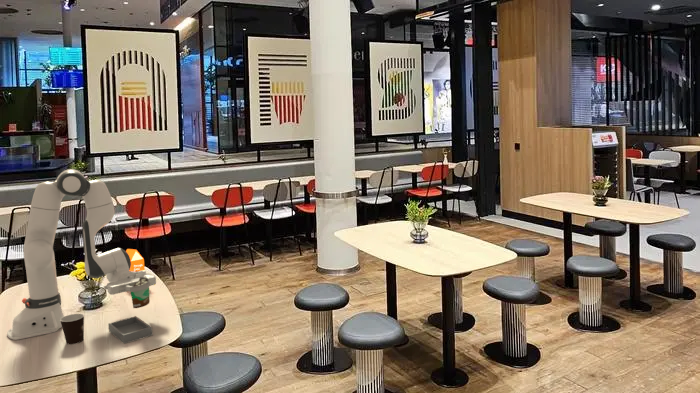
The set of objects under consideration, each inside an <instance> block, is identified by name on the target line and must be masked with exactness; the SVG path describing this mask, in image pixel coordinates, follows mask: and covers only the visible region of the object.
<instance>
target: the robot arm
mask: <svg viewBox="0 0 700 393" xmlns="http://www.w3.org/2000/svg"><path fill="white" fill-rule="evenodd" d="M65 196H68V197H81V198H82V200H83V202H84V205H85V209H86V217H85V220H84V221H83V222H82V225H81V227H82V242H83V253H84V271H85V273H86V275H87V276H88V277H90V278H92V279H95V280H97V279H99V278H102V277H104V276H105V277H106V279H107V281H108V283H107V284H106V285H104V286H103V289H104V290H107V293H108V294H109V295H117V294H122V293H129V292H130V287H133V286H134V284H135V283H136V282H138V281H139V279H140V277H146V278H148V279H149V281H150V284H151V285H150V286H149V287H151V286H155V285H156V284H157V278H156V277H157V276H155V275H154V274H152V273H149V272H147V271H146V270H145V271H129V270H130V268H131V260H130V257H129V255H128V253H127V252H126V250H125V249H123V248H121V247H117V248H113V249H110V250H107V251H105V252H102V253H99V254H96V253H97V252H96V243H95V242H96V241H95V236H96V235H97V233H98V232H99V231H100V230H101V229H103V227H105V226H106V225H108V224H109V223H110V222H111V221H112V220H113V219H114V216H115V213H116V212H115V205H114V202H113V199H112V195H111V192H110V191H109V189H108V187H107V184H106V182H104V181H102V180H99V179H93V180H88V179H87V178H86V177H85V175H84V174H83V173H82V172H81V171H80V170H77V169H75V168H67V169H64V170H62V171H61V172H60V173H59V174H58V176H57V177H56V178H54V180H53V181H42V182H40V183H38V184H37V185H36V187H35V190H34V191H33V195H32V199H31V203H30V210H29V215H28V222H27V227H26V233H25V239H24V244H23V259H24V266H25V270H26V271H25V272H26V280H27V287H28V288H27V289H28V296H29V297H28V298H26V297H23V298H22V299H21V302H22V303H23V304H24V305H25V307H24V308H23V310H21V311H20V312H18V313H17V315H16V316H15V317H13V320H12V327H11V328H9V329H8V330H7V331H6V335H7V337H8V339H10V340H13V341H15V340H16V341H19V340H22V339H28V338H32V337H38V336H42V335H47V334H53V333H56V332H57V331H58V330H59V329H61V328H62V325H61V321H60V319H61V318H62V317H64V313H63V312H64V311H63V310H62V298H61V293H60V292H59V286H58V285H59V284H58V279H57V278H58V277H57V269H56V267H57V266H56V260H55V259H56V258H55V257H56V256H55V251H54V243H55V237H56V232H57V229H58V224H59V219H60V218H59V217H60V212H61V206H62V205H61V204H62V201H63V198H64V197H65Z"/></svg>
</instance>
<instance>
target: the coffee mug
mask: <svg viewBox="0 0 700 393" xmlns="http://www.w3.org/2000/svg"><path fill="white" fill-rule="evenodd" d="M60 321H61V325H62V327H61V328H62V332H63V335H64V339H65V343H66V344H67V345H77V344H79V343H82V342H83V341H84V340H85V339H84V338H85V333H84V332H85V328H84V327H85V315H84V314H83V313H72V314H67V315H65V316H64V317H62V318H61V319H60Z"/></svg>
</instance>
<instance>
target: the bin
mask: <svg viewBox="0 0 700 393" xmlns="http://www.w3.org/2000/svg"><path fill="white" fill-rule="evenodd" d="M107 326H108V332H109V333H110V334H111V335H113V336H114V337H115V338H116V339H118V340H119V341H120V342H122V344H124V345H125V344H127V343H130V342H134V341H137V340H140V339H143V338H148V337H151V336H153V328H152V327H153V326H151V325H149V324H148V323H146V322H145V321H144V320H142V319H141V318H140V317H138V316H136V315H134V316H132V317H127V318H125V319H122V320H117V321H113V322H110V323H108V325H107Z"/></svg>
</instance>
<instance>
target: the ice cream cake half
mask: <svg viewBox="0 0 700 393" xmlns="http://www.w3.org/2000/svg"><path fill="white" fill-rule="evenodd" d="M150 285H151V284H150V281H149V279H148V278H146V277H140V279H139V281H138V282H136V283H135V284H134V286H133V287H130V291H129V292H130V295H131V303H132V308H133V309H139V308H143V307H146V306H148V305H149V304H150V301H151V300H150V287H151V286H152V285H151V286H150Z"/></svg>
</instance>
